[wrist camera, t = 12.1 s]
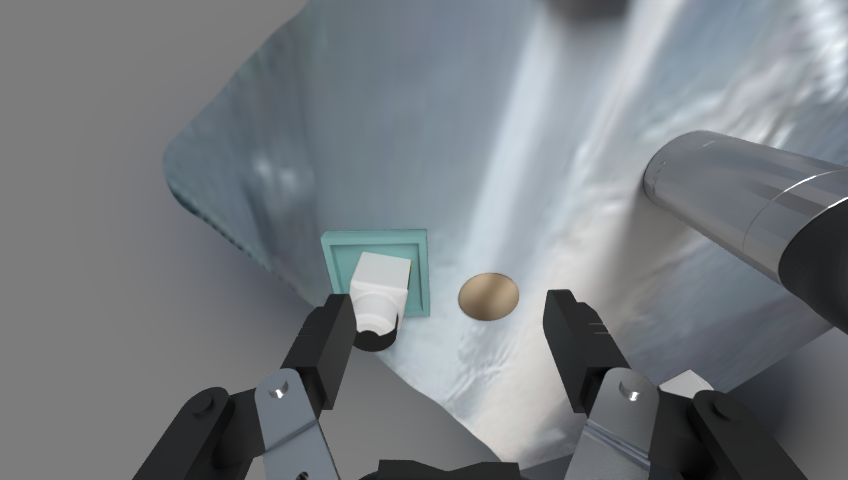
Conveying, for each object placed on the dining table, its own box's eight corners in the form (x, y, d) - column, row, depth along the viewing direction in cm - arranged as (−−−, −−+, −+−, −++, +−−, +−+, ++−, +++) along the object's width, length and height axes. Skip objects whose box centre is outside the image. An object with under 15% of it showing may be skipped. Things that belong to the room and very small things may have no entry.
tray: (426, 229, 42) (425, 236, 40) (430, 307, 49) (430, 316, 47) (325, 231, 43) (320, 238, 41) (343, 308, 50) (339, 316, 48)
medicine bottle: (405, 296, 47) (396, 363, 37) (358, 289, 47) (336, 354, 37) (412, 258, 44) (404, 320, 33) (362, 250, 43) (338, 309, 33)
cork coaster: (521, 272, 45) (522, 274, 45) (515, 318, 49) (515, 320, 49) (459, 273, 45) (459, 275, 45) (458, 318, 50) (458, 320, 50)
